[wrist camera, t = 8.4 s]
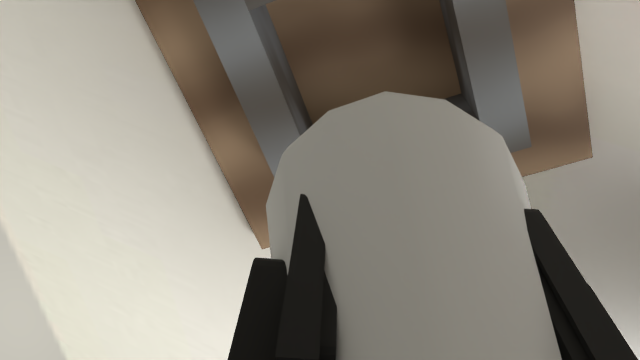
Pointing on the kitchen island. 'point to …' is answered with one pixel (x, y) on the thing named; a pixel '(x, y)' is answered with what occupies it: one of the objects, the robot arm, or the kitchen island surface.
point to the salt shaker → (417, 232)
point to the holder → (370, 73)
